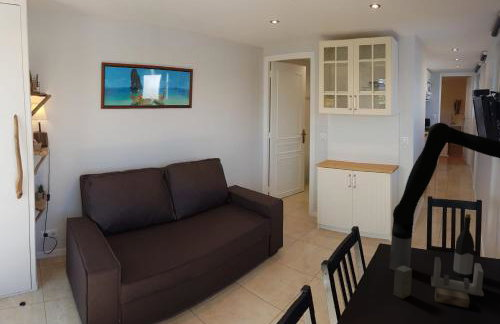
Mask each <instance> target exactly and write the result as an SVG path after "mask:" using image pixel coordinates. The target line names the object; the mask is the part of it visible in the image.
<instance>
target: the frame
mask: <svg viewBox="0 0 500 324" xmlns="http://www.w3.org/2000/svg"><path fill="white" fill-rule="evenodd" d="M433 265H434V266H433V275H431V276H430V283H431V284H430V285H431V287H432V288H440V289H445V290H451V291H456V292H462V293H467V294H468V295H473V296H478V295H479V296H478V297H483V296H485V295H484V291H483V282H484V281H483V279H484V270H483V268H482V264H481V263H477V262H475V263H474V267H473V268H474V269H473V278H472V283H471V282H470V279H469V277H463V281H461V280H455V279H450V277H449V274H443V275H444V276H443V278H442V277H441V269H442V263H441V257H439V256H434V263H433Z"/></svg>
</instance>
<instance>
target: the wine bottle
mask: <svg viewBox="0 0 500 324" xmlns="http://www.w3.org/2000/svg"><path fill="white" fill-rule="evenodd" d="M471 219H472V217H471V213H470V214H469V213H465V216H464V222H463V229H462V230H461V232H460V233H459V234H458V236H457V238H456V241H455V249H454V250H455V251H454V258H453V269H452V270H453V274H454V275H456V276H458V277H460V276H462V278H471V277H472V272H473V264H474V255H475V242H474V238H473V236H472V232H471V231H470V229H471V228H470V227H471ZM470 276H471V277H470Z"/></svg>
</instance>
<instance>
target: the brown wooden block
mask: <svg viewBox="0 0 500 324" xmlns="http://www.w3.org/2000/svg"><path fill="white" fill-rule="evenodd" d="M434 288H435V289H434V290H435V291H434V301H435V303H436V302H438V303H442V304H447V305H451V306H452V305H453V306H458V307H462V308H467V309H469V306H470V297H469V294H468V293H462V292H457V291H452V290H447V289H441V288H436V287H434Z"/></svg>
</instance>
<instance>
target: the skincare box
mask: <svg viewBox="0 0 500 324" xmlns="http://www.w3.org/2000/svg"><path fill="white" fill-rule="evenodd" d="M412 273H413V268H411V267H410V268H409V267H406V266H404V265H403V266H400V267H398V268H395V271H394V282H393V295H394V296H396V297H397V298H400V299H401V300H402V299H405V298H406V297H407V298H408V297H409V296H411V292H412V291H411V289H412V279H413V278H412V275H413V274H412Z"/></svg>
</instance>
